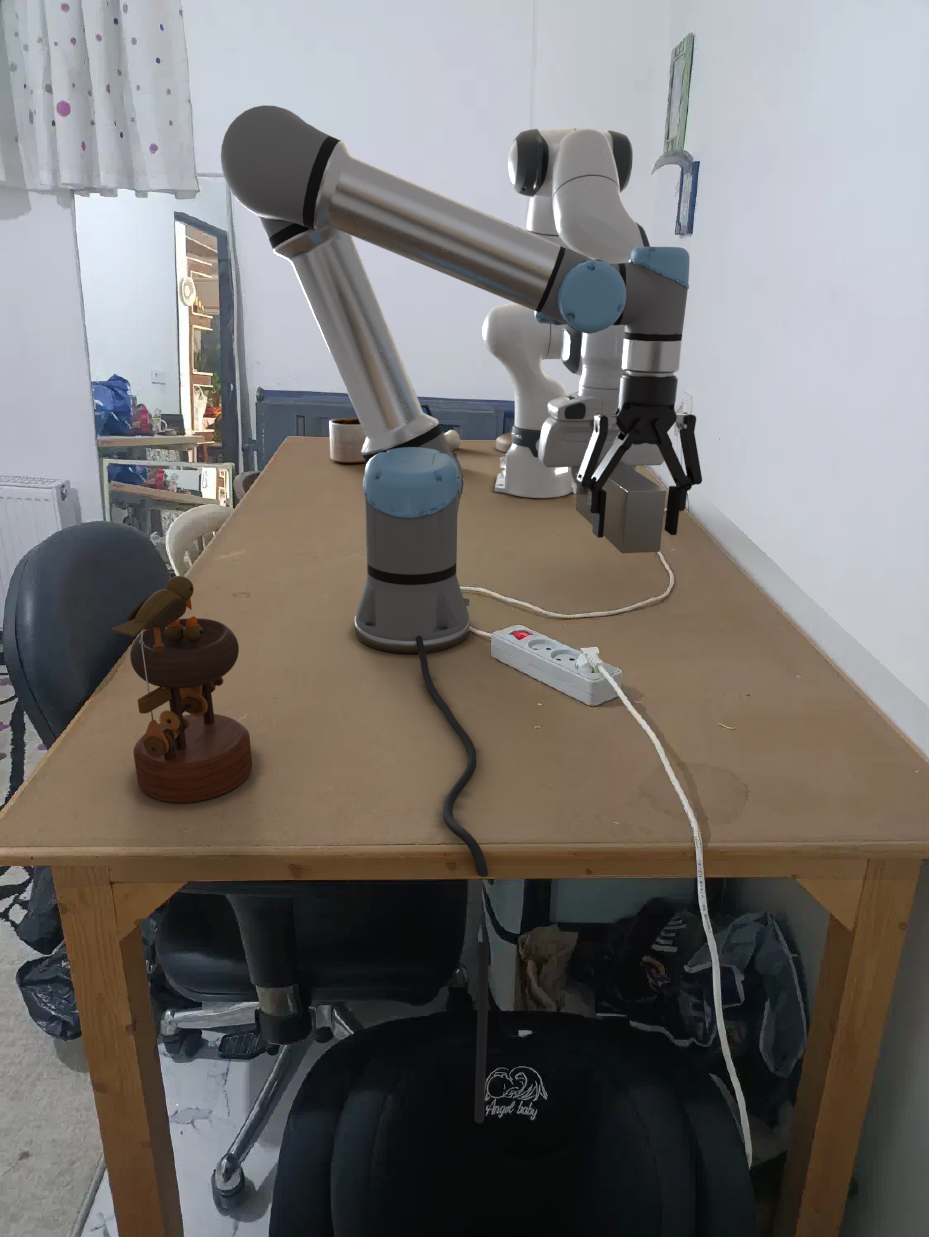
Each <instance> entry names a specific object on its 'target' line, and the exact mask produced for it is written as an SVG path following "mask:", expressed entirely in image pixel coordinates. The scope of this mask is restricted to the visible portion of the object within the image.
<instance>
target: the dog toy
mask: <svg viewBox="0 0 929 1237" xmlns="http://www.w3.org/2000/svg"><path fill="white" fill-rule="evenodd" d="M443 433H444V436H445V439H446V441H447V444H448V446H449V448H450V450H454V449H457V448H460V446H461V443H462V440H461V439H460V437H461V435H460V434H459V433H458V431H456V430H455V429H450V430H448V431H447V432H443Z"/></svg>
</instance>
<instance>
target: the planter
mask: <svg viewBox="0 0 929 1237" xmlns="http://www.w3.org/2000/svg"><path fill="white" fill-rule="evenodd" d="M328 424H329V425H328V426H329V453H330V454H329V455H330V456H329V457H330V459H331V460H332V461H333V462H335V463H341V464H363V463H366V462H365V460H364V458H363V455H362V453H361V450H362V448H363V445H364V443H365V440H366V435H365V433H364V430H363V428H362V426H361V423H360V421H359V419H358V417H342V418H341V417H340V418H335V419H334V418H333V419H331V420H329V421H328Z"/></svg>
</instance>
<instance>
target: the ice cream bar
mask: <svg viewBox="0 0 929 1237" xmlns="http://www.w3.org/2000/svg"><path fill="white" fill-rule="evenodd" d="M511 433H512V431H510V432H506V433H502V434H500V435H498V437H496V440H495V449H497V450H498V451H501V452H503V453H508V450H509V449H510V447H511V445H512V441H511V438H512V435H511Z"/></svg>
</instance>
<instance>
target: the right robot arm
mask: <svg viewBox="0 0 929 1237" xmlns="http://www.w3.org/2000/svg"><path fill="white" fill-rule="evenodd" d="M633 152H634V151H633V145H632V143H631V141H630V139H629V137H628V136H627V135H626V134H624V133H621V132H618V131H614V130H610V129H609V130H608V131H603V130H600V129H599V130H598V129H595V128H589V127H572V128H551V129H541V130H539V129H538V128H531V129H527V130H524V131H523V130H522V131H520V132H519V133H518V134H517V136H515V138H514V139H513V142H512V146H511V148H510V150H509V153H508V158H507V172H508V176H509V179H510V184H511V188H513V189H514V190H515V192H516V193H517V194H519V195H522V196H524V197H530V199H529V204H528V209H527V215H526V216H527V217H526V224H525V226H526V227H525V230H526V231H528V232H531V233H533V234H535V235H538V236H540V237H542V238H545V239H547V240H549V241H552V242H554V243H556V244H559V245H560V246H562V247H564V248H567V249H570V250H573V251H575V252H577V253H580V254H582V255H584V256H587V257H589V258H591V259H599V260H602V261H604V262H607V263H610V264H618V263H629V259H630V257H631V252H632V250H633V249H634V248H635V247H651V244H650V242H649V238H648V235H647V233H646V231H645V229H644V227H643V226H642V225H640V224H639V223H638V222H637V221H635V220H634V218H632V216H631V215H630V213H629V212H628V210H627V208H626V207H625V205H624V202H623V200H622V197H621V193H622V192H623V191H624V190H625V189H627V187H628V185H629V182H630V179H631V176H632V173H633V169H634V168H633V167H634V153H633ZM624 333H625V325H611V326H609V327H608V328H606V329H604V330H601V331H598V332H596V333H591V334H586V333H582V332H580V331H577V330H574V329H572V328H571V327H569V325H563V324H562V325H554V324H544V323H539V322H538V321H537V320H536V318H535V311H534V310H531V309H529V308H527V307H524V306H522V305H519V304H517V303H514V302H512V303H511V302H510V303H507V304H502V305H497V306H493V307H492V308H491V309H490V310H489V311H488V312H487V314H486V316H485V317H484V320H483V323H482V329H481V335H482V339H483V343H484V345H485V348H486V349H487V351H488V352H489V353H490V354H491V355H492V356H493V357H494V358H496V359H497V361H498V362H500V363H501V365H502V366H503V367H504V369H505V370H506V372H507V374H508V376H509V378H510V380H511V384H512V388H513V397H514V424H513V425H512V428H511V432H512V433H511V435H512V438H511V441H512V445H511V447H510V449H509V450H508V453H507V452H505V456H502V457H499V459H498V460H499V464H498V466H499V467H498V468H499V469H502V470H501V472H500V473H497V475H496V481H495V484H494V489H493V490H494V492H496V493H502V494H508V495H512V496H518V497H522V498H533V499H549V498H550V499H551V498H559V497H564V496H567V495H569V494H571V493H573V494H574V495H576V496H577V495H578V494H584V493H585V490H584V489H585V487H583V486H581V485H580V484H579V483H578V482H577V480H576V478H577V475H578V473H579V470H580V467H581V464H582V462H583V459H584V456H585V453H586V451H587V448H588V445H589V442H590V440H591V437H592V434H593V431H594V416H595V415H596V414H597V413H601V414H603V415H608V414H615V412H616V411H617V409H618V406H619V391H620V379H621V376H622V375H623V374H625V373H626V371H625V370H623V369H622V358H623V346H624ZM543 360H560V362H561V363H562V364H563V366H564V367H565V368H566V369H567V370H568V371H569V372H570V373H572V374H573V375H577V376H580V379H579V382H578V383H579V384H578V390H577V391H575V392H571V393H568V391H567V389H566V388H567V387H565V385H564V384H563V383H562V382H561V381H559V380H558V379H556V378H554V377H552V376H551V375H548V374H546V373H545V372H544V371H543V369H542V361H543ZM619 432H620V429H619V428H618V426H617V424H616V423H614V424H613V425H612V428H611V430H609V431H608V434H607V438H606V441H605V443H604V446H603V449H602V451H601V454H600V457H599V460H598V462H597V463H601V462H602V460H603V459H604V457H605V456H606V454H607V453H608V451H609V450H610V448H611V447H612V445H613V443H614V440H615V438H616V436H617V435H618V433H619ZM619 462H623V463H624V464H626V465H628V466H629V467H631V468H632V469H634V470H635V471H637V467H638V466H639V467H642V466H661V465H662V464H663V463H665V461H664V459H663V456H662V454H661V452H660V450H659V448H658V446H657V445H656V444H648V443H644V444H640V445H634V444H632V445H631V447H630V448H629V449H628V450H627V451H626V452H625V454H624V455H623V457H622V458H621V460H620V461H619Z"/></svg>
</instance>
